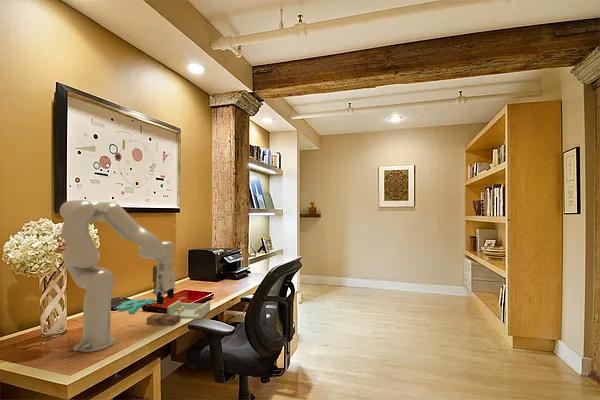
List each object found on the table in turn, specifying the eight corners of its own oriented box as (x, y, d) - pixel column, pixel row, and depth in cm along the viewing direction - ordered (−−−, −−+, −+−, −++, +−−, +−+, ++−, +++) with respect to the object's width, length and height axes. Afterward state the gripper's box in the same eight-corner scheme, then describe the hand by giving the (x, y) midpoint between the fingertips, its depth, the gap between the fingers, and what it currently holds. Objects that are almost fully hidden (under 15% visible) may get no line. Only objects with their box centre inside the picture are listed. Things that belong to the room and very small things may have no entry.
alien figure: (164, 305, 181) (144, 300, 192) (164, 301, 182) (144, 296, 192) (131, 315, 164) (110, 309, 175) (131, 311, 164) (110, 305, 175)
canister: (172, 289, 215) (172, 260, 216) (167, 294, 205) (168, 263, 205) (155, 290, 214) (156, 261, 214) (150, 294, 203) (150, 263, 204)
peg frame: (201, 318, 158) (201, 308, 158) (167, 317, 160) (167, 306, 160) (209, 311, 170) (210, 301, 170) (178, 310, 172) (178, 300, 172)
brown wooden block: (180, 322, 155) (180, 315, 155) (173, 326, 149) (173, 319, 149) (154, 320, 157) (154, 313, 157) (146, 325, 151) (146, 317, 151)
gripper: (163, 270, 145) (163, 307, 145) (180, 263, 162) (181, 295, 162) (147, 270, 146) (148, 306, 145) (166, 262, 163) (167, 295, 163)
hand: (165, 301), depth 154 cm, fingers open, 9 cm apart
